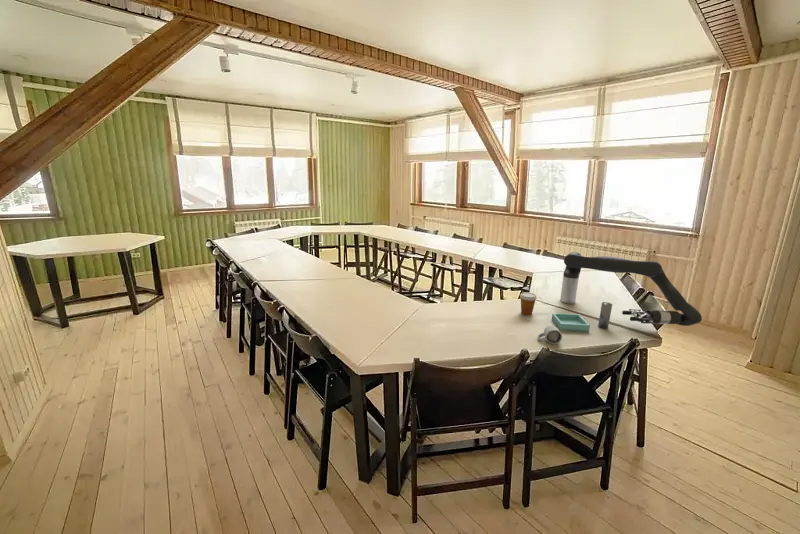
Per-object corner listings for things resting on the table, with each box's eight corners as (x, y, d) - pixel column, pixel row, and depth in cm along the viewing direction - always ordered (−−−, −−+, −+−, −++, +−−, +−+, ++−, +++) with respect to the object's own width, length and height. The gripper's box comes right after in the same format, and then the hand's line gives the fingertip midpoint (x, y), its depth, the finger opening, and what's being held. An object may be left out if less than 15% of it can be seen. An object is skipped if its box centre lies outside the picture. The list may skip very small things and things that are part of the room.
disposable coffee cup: (524, 317, 212) (526, 298, 209) (515, 311, 221) (517, 292, 218) (538, 315, 215) (540, 296, 211) (528, 309, 223) (530, 291, 220)
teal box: (551, 319, 209) (552, 313, 208) (578, 320, 207) (579, 314, 206) (559, 330, 195) (560, 323, 193) (588, 332, 193) (589, 325, 192)
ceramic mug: (557, 337, 187) (558, 324, 184) (561, 344, 179) (562, 330, 177) (535, 336, 188) (537, 323, 186) (539, 343, 180) (540, 329, 178)
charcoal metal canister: (596, 325, 202) (600, 301, 198) (605, 325, 201) (609, 302, 198) (600, 328, 197) (604, 305, 193) (609, 329, 196) (614, 305, 193)
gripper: (651, 305, 200) (621, 304, 202) (667, 315, 186) (634, 314, 188) (649, 318, 202) (619, 316, 204) (664, 328, 189) (631, 327, 190)
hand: (626, 315), depth 196 cm, fingers open, 8 cm apart
